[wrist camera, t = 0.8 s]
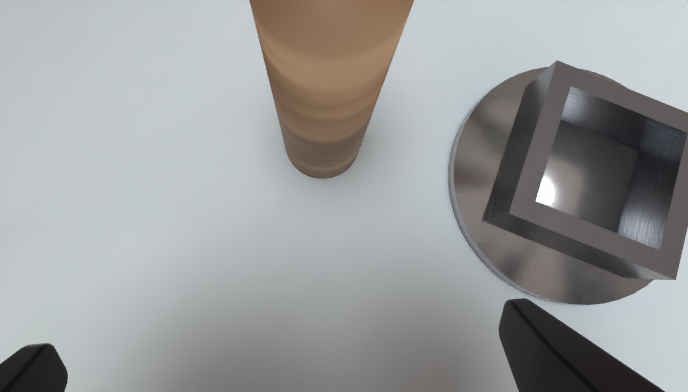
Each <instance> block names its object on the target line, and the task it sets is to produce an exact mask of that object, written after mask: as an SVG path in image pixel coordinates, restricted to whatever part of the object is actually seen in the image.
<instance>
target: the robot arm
mask: <svg viewBox="0 0 688 392" xmlns="http://www.w3.org/2000/svg"><path fill="white" fill-rule="evenodd" d="M499 336H500V340H501V343H502V345H503V348H504V351H505V354H506V357H507V359H508V362H509V365H510V368H511V371H512V373H513V376H514V379H515V382H516V385H517V387H518V390H519V392H665V391H663V390H662V389H660V388H659V387H658V386H656V385H655V384H653V383H652V382H650V381H649V380H647V379H646V378H644V377H643V376H641V375H640V374H638V373H637V372H635V371H634V370H632V369H631V368H629V367H628V366H626V365H625V364H623V363H622V362H620V361H619V360H617V359H616V358H614V357H613V356H611V355H610V354H609V353H607V352H606V351H604V350H603V349H601V348H600V347H598V346H597V345H595V344H594V343H592V342H591V341H589V340H588V339H586V338H585V337H583V336H582V335H580V334H579V333H577V332H576V331H574V330H573V329H571V328H570V327H568V326H567V325H565V324H564V323H562V322H561V321H560V320H558V319H557V318H555V317H554V316H552V315H551V314H549V313H548V312H546V311H545V310H543V309H542V308H540V307H539V306H537V305H536V304H534V303H533V302H531V301H530V300H528V299H524V298H523V299H512V300H507V301H506V303H505V305H504V308H503V312H502V316H501V320H500V325H499ZM67 379H68V374H67V370H66V367H65V366H64V364H63V362H62V360H61V358H60V356H59V355H58V353H57V351H56V349H55V347H54V346H53V345H51V344H49V343H43V344H32V345H27V346H25V347H23V348H21V349H20V350H18V351H17V352H16V353H14V354H13V355H12V356H10V357H9V358H8V359H6V360H5V361H4V362H2V363H1V364H0V392H64V391H65V388H66V385H67Z"/></svg>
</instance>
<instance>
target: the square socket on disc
mask: <svg viewBox="0 0 688 392" xmlns="http://www.w3.org/2000/svg"><path fill="white" fill-rule="evenodd" d="M449 190H450V198H451V202H452V206H453V210H454V214H455V216H456V219H457V221H458V224H459V226H460V229H461V231H462V232H463V234H464V236H465V238H466V240H467V242H468V243H469V245H470V246H471V247H472V249H473V250H474V252H475V253H476V254H477V256H478V257H479V258H480V259H481V260H482V261H483V262H484V263H485V264H486V265H487V267H488V268H489V269H491V270H492V271H493V272H494V273H495V274H497V275H498V276H499V277H500V278H501V279H503V280H504V281H506V282H507V283H509V284H510V285H512V286H514V287H515V288H517V289H519V290H521V291H523V292H526V293H528V294H530V295H533V296H536V297H539V298H542V299H545V300H550V301H556V302H561V303H568V304H583V305H591V304H601V303H607V302H611V301H615V300H619V299H621V298H624V297H626V296H629V295H631V294H633V293H635V292H637V291H638V290H640V289H642V288H643V287H645V286H647V285H648V284H649V283H650V282H651V281H653V280H654V279H661V280H676V276H677V272H678V267H679V263H680V258H681V254H682V249H683V245H684V240H685V236H686V231H687V227H688V113H687V112H685V111H682V110H680V109H677V108H675V107H672V106H670V105H667V104H665V103H662V102H660V101H657V100H655V99H652V98H650V97H647V96H645V95H642V94H640V93H637V92H635V91H632V90H630V89H628V88H626V87H624V86H623V85H621V84H620V83H618V82H616V81H614V80H612V79H610V78H608V77H605V76H603V75H600V74H597V73H594V72H591V71H588V70H583V69H578V68H575V67H572V66H570V65H567V64H565V63H562V62H560V61H556V62H554V63H553V64H552V65H551V66H550V67H545V68H539V69H534V70H530V71H527V72H524V73H521V74H518V75H516V76H514V77H512V78H509V79H507V80H505V81H504V82H502V83H501V84H499V85H498V86H496V87H495V88H494V89H492V90H491V91H490V92H489V93H488V94H487V95H486V96H485V97H484V98H483V99H482V100H481V101H480V102H479V103H478V104H477V105H476V106H475V107H474V108H473V109H472V111H471V112H470V113H469V114H468V115H467V117H466V119H465V120H464V122H463V124H462V125H461V127H460V129H459V131H458V134H457V136H456V138H455V141H454V144H453V148H452V151H451V156H450V163H449Z"/></svg>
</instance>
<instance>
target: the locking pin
mask: <svg viewBox="0 0 688 392" xmlns="http://www.w3.org/2000/svg"><path fill="white" fill-rule="evenodd" d="M413 2H414V0H250V4H251V8H252V12H253V16H254V20H255V25H256V29H257V33H258V37H259V41H260V45H261V49H262V53H263V57H264V61H265V65H266V70H267V74H268V78H269V82H270V86H271V90H272V94H273V98H274V102H275V106H276V111H277V115H278V119H279V123H280V127H281V131H282V135H283V139H284V143H285V147H286V151H287V155H288V157H289V159H290V161H291V162H292V164H293V165H294V166H295V167H296V168H297V169H298V170H299V171H301V172H302V173H304V174H306V175H308V176H310V177H314V178H331V177H334V176H337V175H339V174H341V173H343V172H344V171H345V170H347V169H348V168H349V167H350V166H351V164H352V163H353V162H354V160H355V158H356V155H357V153H358V150H359V147H360V145H361V142H362V139H363V137H364V134H365V131H366V129H367V126H368V123H369V120H370V118H371V115H372V112H373V110H374V107H375V104H376V102H377V99H378V96H379V93H380V91H381V88H382V85H383V83H384V80H385V77H386V75H387V72H388V69H389V66H390V64H391V61H392V58H393V56H394V53H395V50H396V48H397V45H398V42H399V39H400V37H401V34H402V31H403V29H404V26H405V23H406V21H407V18H408V15H409V12H410V10H411V7H412V4H413Z"/></svg>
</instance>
